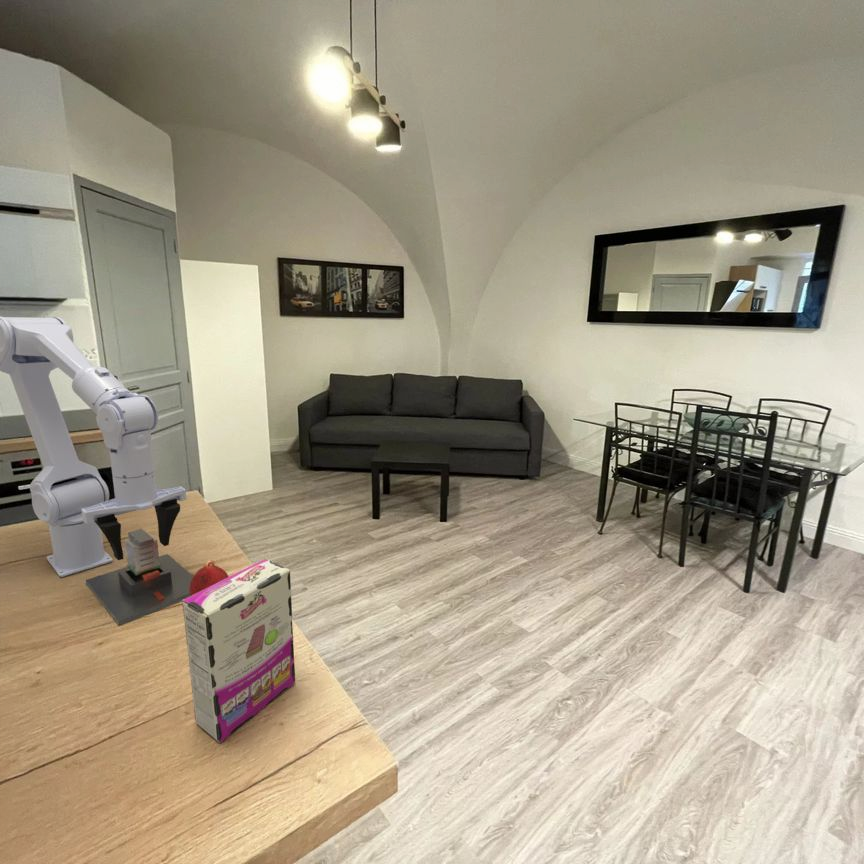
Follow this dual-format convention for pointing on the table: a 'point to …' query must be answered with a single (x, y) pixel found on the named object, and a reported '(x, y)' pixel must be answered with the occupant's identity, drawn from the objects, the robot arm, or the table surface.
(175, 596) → the stand
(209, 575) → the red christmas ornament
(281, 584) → the candy bar box
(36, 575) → the table surface
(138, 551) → the grey block
